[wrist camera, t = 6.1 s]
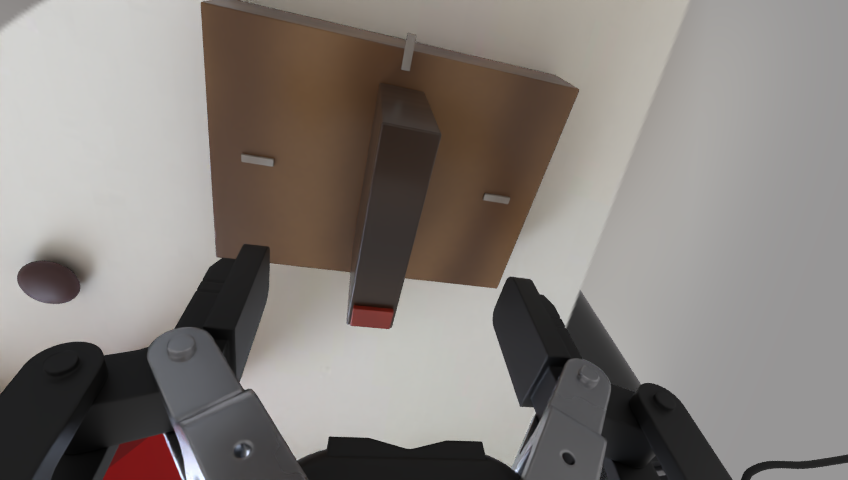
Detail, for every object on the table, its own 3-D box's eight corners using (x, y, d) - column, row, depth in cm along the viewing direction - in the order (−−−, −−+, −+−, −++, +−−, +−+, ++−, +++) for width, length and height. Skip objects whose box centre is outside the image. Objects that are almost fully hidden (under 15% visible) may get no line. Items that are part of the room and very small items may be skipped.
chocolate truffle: (76, 300, 26) (60, 318, 24) (21, 277, 24) (1, 294, 23) (95, 271, 25) (79, 288, 23) (38, 245, 23) (18, 262, 22)
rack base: (560, 62, 21) (587, 76, 18) (483, 266, 27) (494, 298, 25) (223, -20, 17) (197, -18, 15) (232, 236, 24) (215, 268, 22)
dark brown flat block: (379, 82, 17) (381, 124, 13) (424, 91, 18) (443, 136, 13) (351, 251, 22) (345, 329, 17) (388, 256, 22) (392, 332, 18)
